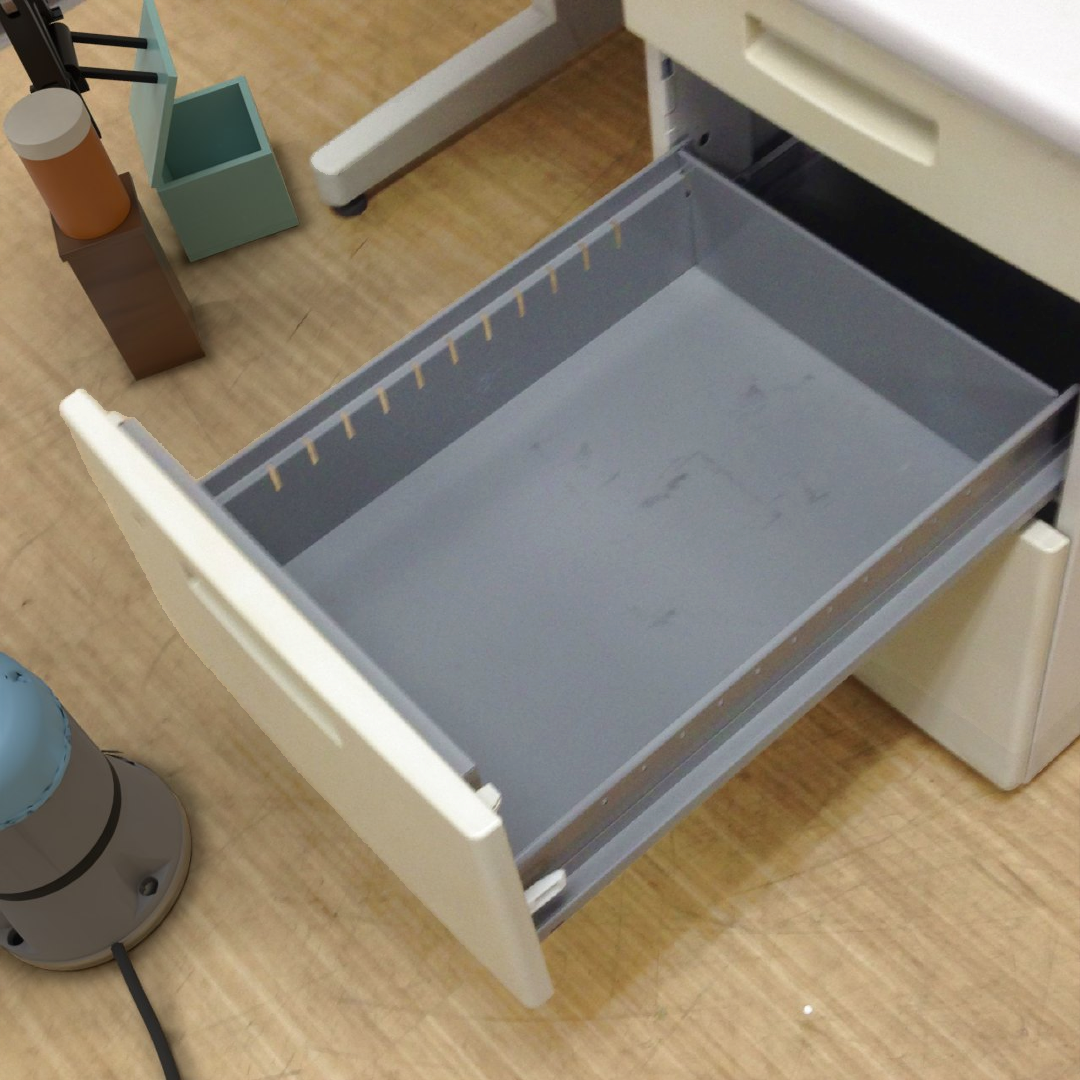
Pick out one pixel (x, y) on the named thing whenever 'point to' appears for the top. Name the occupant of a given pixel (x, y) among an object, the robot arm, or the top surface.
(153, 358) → the plinth
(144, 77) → the teal box lid
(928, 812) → the top surface
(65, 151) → the amber jar
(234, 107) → the teal open box
